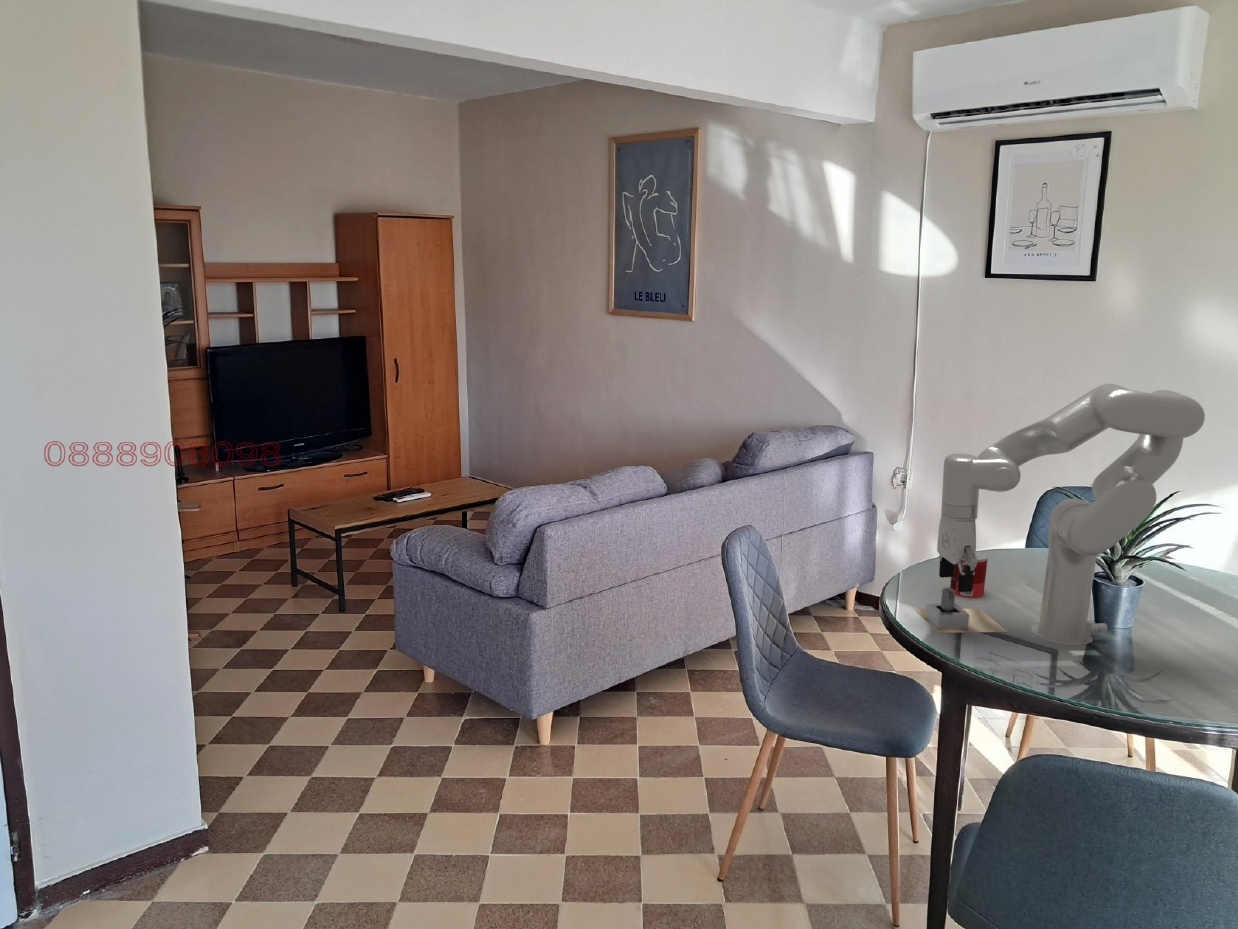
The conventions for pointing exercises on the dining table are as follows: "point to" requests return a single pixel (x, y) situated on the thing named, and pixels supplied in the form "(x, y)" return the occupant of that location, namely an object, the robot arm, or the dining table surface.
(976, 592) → the canned food
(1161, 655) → the dining table surface
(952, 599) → the pin
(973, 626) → the board
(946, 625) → the collar
